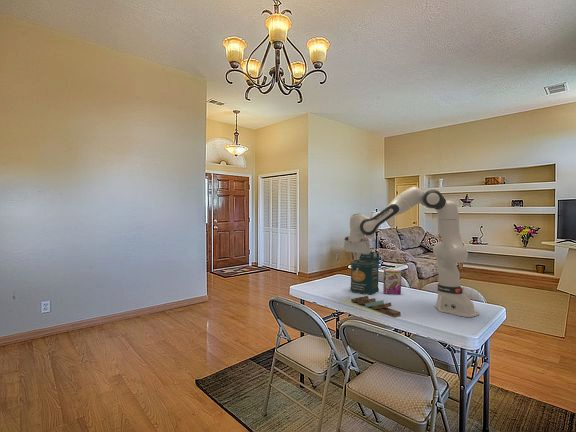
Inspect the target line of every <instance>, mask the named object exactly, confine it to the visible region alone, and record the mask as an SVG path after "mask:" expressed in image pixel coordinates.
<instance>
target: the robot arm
mask: <svg viewBox="0 0 576 432" xmlns="http://www.w3.org/2000/svg"><path fill="white" fill-rule="evenodd" d="M419 204H421V205H422V206H424V207H425V208H427V209H431V210H433V209H434V210H436V212H437V231H438V235H439V236H440V238H441V241H439V242H437V243H435V244H434V245H433V249H432V251H433V254H434V256H435V259H436V264H437V269H438V283H437V299H436V303H435V305H434V308H435V309H437V311H438V312H441V313H446V314H450V315H453V316H454V315H455V316H457V317H458V316H459V317H463V318H474V316H475V317H477V316H479V315H480V312H479V311H478V310H475V304H474V302H473V301H472V300H471V299H470V298H469V297H468V296H467V295H465V294H464V293H463V291H464V289H465V288H464V287H463V288H462V287H461V286H460V285H461V282H460V279H461V276H460V275H461V274H460V270H459V269H458V265H457V264H462V263H465V261H467V259H468V256H469V251H468V250H467V249H466V247H465V246H464V243H463V239H462V237H461V233H460V217H459V211H458V206H457V203H456V202H455V201H453V200H450V199H449V200H448V199H447V200H446V198H445V197H444V195H443V194H442V192H441V191H439V190H438V189H430V190H426V191H423V190H421V188H420V187H418V186H414V185H413V186H410V187H409V188H406V189H405V190H404V191H402V192H401V193H399V194H398V195H396V196H395V197H394V198H393V199H392V200H391V201H390V202H389V203H388V205H387V206H386V207H385V208H384V209H382V210H381V211H380V212H378V213H376V215H374V216H373V217H368V216H366V215H365V214H363V213H360V212H359V213H355V214H352V215H350V219H349V230H350V232H349V235H348V236H345V237H344V243H343V244H344V245H343V249H344V251H345V252H349V253H352V255H353V258H354V260H355V261H357V260H359V259H360V256H361V254H370V252H371V245H370V241H369V240H368V239H367V238H364V237H365V236H372V235H374V234H375V233H376V232H377V231H378V230H379V227H380V226H381V225H382V224H383V223H385V222H387V221H388V220H389V219H391V218H393V217H395V216H399V215H402V214H404V213H406V212H408V211H409V210H410V209H412V208H414V207H415V206H417V205H419Z"/></svg>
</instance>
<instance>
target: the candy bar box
mask: <svg viewBox="0 0 576 432" xmlns="http://www.w3.org/2000/svg"><path fill="white" fill-rule="evenodd" d="M401 293H402V270H400V269H387V268H386V269H383V294H384V295H401Z"/></svg>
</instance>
